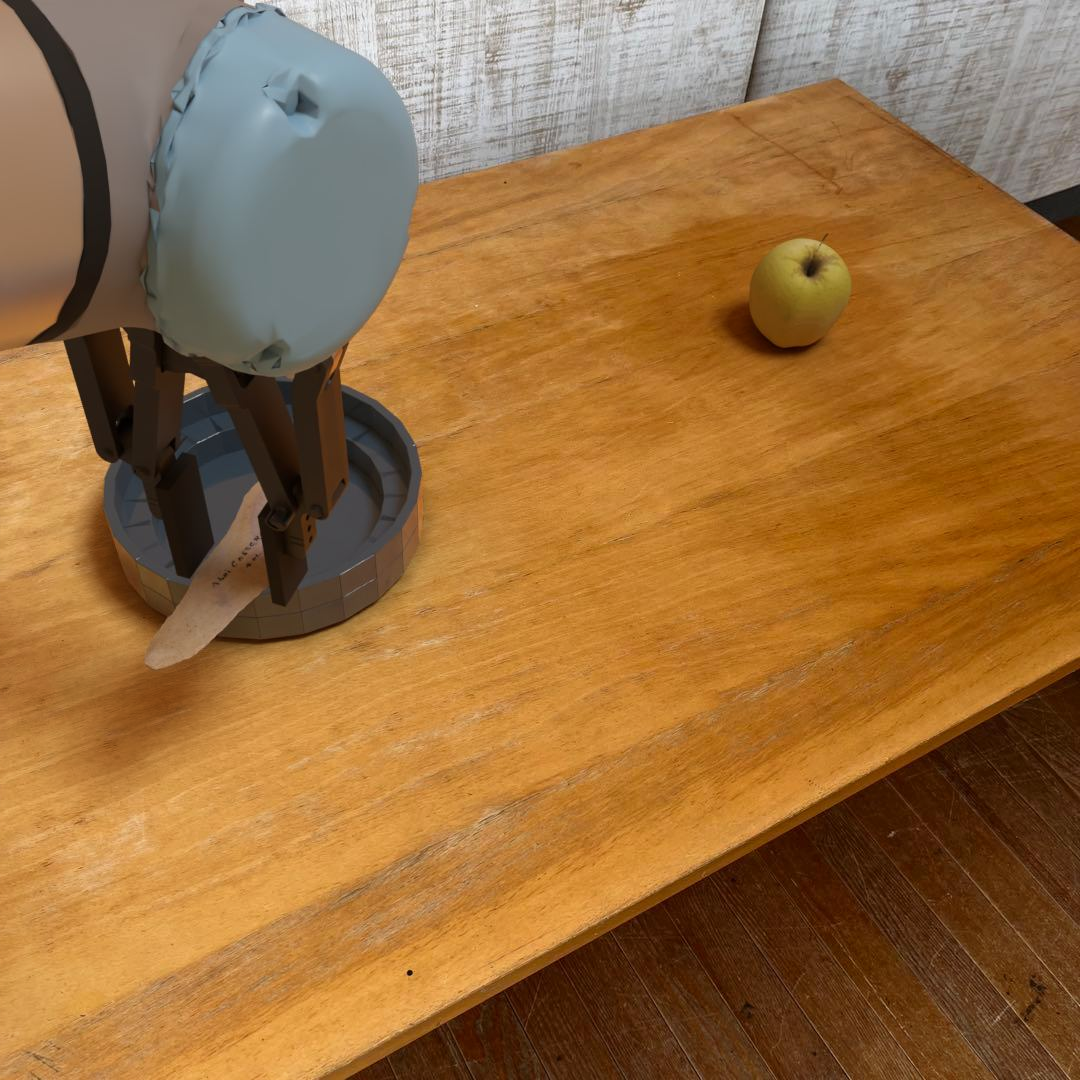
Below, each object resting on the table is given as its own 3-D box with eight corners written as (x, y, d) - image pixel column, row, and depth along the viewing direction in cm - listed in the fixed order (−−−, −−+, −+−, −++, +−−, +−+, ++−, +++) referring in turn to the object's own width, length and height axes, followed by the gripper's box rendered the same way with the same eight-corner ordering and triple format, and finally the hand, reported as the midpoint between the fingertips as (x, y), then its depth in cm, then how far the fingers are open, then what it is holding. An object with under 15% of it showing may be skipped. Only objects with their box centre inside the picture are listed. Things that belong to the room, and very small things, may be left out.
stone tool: (204, 696, 57) (355, 486, 66) (191, 676, 56) (346, 465, 64) (126, 675, 59) (281, 475, 68) (111, 656, 58) (272, 455, 67)
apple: (748, 280, 102) (805, 193, 94) (825, 330, 101) (889, 247, 93) (714, 328, 97) (772, 241, 89) (795, 382, 96) (860, 298, 89)
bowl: (349, 682, 72) (343, 632, 69) (58, 593, 76) (38, 541, 72) (464, 467, 86) (464, 415, 82) (212, 399, 89) (202, 347, 85)
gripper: (-101, 171, 44) (53, 578, 61) (340, 277, 41) (371, 673, 58) (19, 84, 49) (129, 483, 66) (419, 173, 46) (426, 567, 63)
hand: (242, 572), depth 62 cm, fingers closed on stone tool, 5 cm apart
